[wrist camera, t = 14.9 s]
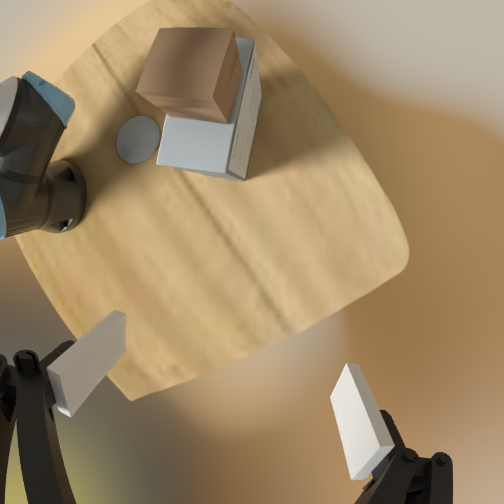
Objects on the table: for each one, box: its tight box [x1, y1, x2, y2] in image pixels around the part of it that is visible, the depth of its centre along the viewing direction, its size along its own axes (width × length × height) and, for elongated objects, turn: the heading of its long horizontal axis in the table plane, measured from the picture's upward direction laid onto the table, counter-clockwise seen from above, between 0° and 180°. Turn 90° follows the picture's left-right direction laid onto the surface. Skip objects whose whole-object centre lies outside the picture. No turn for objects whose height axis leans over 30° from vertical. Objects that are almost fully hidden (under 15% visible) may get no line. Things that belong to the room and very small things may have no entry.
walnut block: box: [136, 28, 243, 124], centre depth 19 cm, size 6×6×8 cm
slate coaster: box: [116, 116, 160, 163], centre depth 43 cm, size 9×9×1 cm
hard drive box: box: [157, 38, 262, 181], centre depth 33 cm, size 16×8×20 cm, turn 170°
